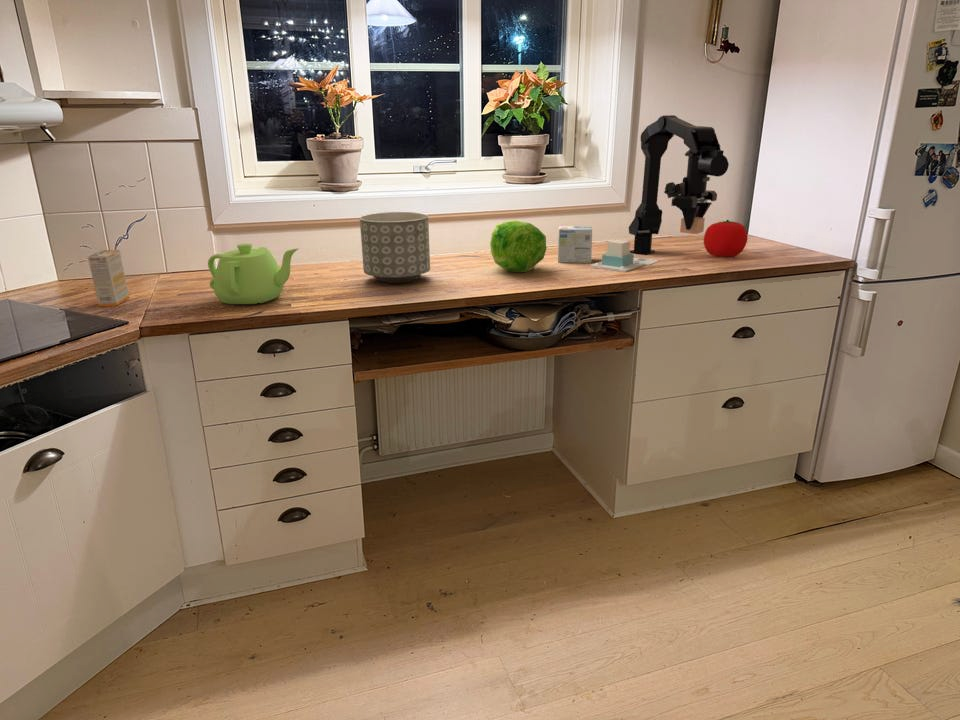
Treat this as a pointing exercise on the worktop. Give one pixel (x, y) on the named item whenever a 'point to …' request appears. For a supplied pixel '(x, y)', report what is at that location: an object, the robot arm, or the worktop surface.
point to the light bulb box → (575, 244)
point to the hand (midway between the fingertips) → (691, 228)
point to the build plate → (623, 269)
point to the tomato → (725, 239)
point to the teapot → (249, 275)
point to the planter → (395, 245)
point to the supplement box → (108, 277)
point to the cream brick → (618, 248)
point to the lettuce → (517, 246)
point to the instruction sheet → (644, 261)
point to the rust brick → (693, 226)
